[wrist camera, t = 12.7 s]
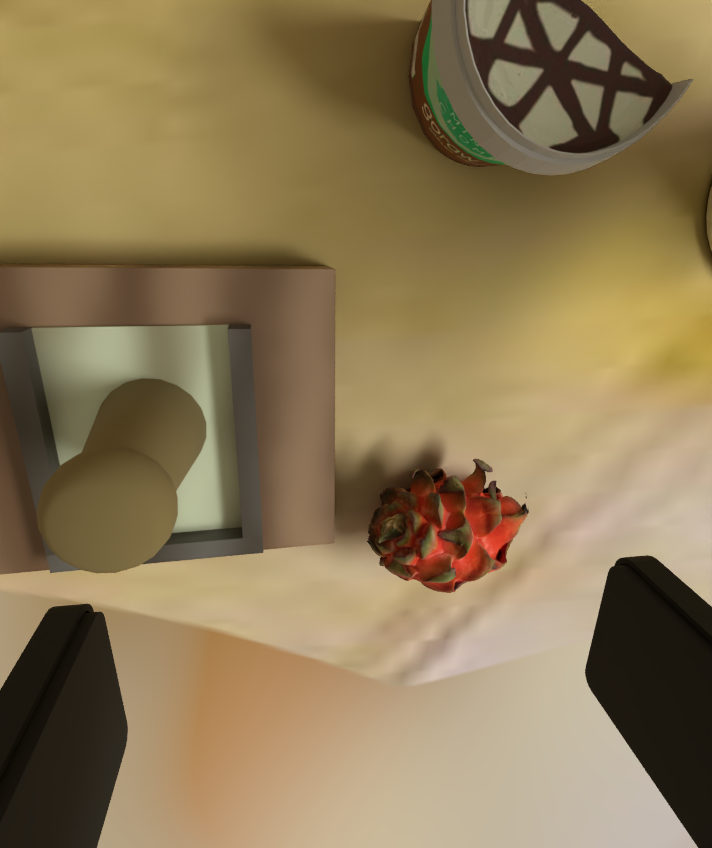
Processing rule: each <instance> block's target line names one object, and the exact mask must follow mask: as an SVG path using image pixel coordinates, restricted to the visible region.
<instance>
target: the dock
mask: <svg viewBox="0 0 712 848" xmlns="http://www.w3.org/2000/svg"><path fill="white" fill-rule="evenodd" d="M142 378H143V379H161V380H163V381H166V382H169V383H172V384H175V385H178V386H179V387H180V388H182V389H183V390H185V391H186V392H187V393H189V394H190V395H192V397H193V398H194V399H195V401H196V402H197V403H198V405H199V406H200V407H201V409H202V412H203V414H204V417H205V420H206V440H205V443H204V445H203V448H202V451H201V452H200V454H199V456H198V457H197V459H196V460H195V462H194V464H193V465H192V467H191V468H190V470H189V472H188V473H187V475H186V476H185V478H184V480H183V481H182V483H181V484H180V486H179V487H178V489H177V491H176V493H177V497H178V516H177V520H176V523H175V526H174V528H173V531H172V534H171V536H170V538H169V539H168V540H167V542H166V543H165V544H164V545H163V546H162V548H161V549H160V550H159V551H158V552H157V553H156V554H155V556H154V557H152V558H150V559H149V560H147V561H145V562H144V563H142V564H149V563H159V562H170V561H180V560H191V559H201V558H212V557H223V556H233V555H244V554H254V553H263V550H265V549H276V548H287V547H297V546H308V545H319V544H329V543H334V521H335V269H333V268H331V267H329V266H244V265H105V264H0V574H9V573H20V572H31V571H41V570H50V573H54V572H64V571H75V570H80V569H77V568H75V567H73V566H71V565H69V564H67V563H65V562H63V561H62V560H61V559H60V558H59V557H57V556H56V555H55V554H54V553H53V552H52V551H51V550H50V549H49V547H48V545H47V544H46V542H45V540H44V538H43V536H42V534H41V533H40V531H39V528H38V520H37V512H36V511H37V507H38V503H39V500H40V496H41V493H42V489H43V486H44V485H45V484H46V482H47V481H48V480H49V479H50V477H51V476H52V475H53V474H54V472H55V471H56V470H57V469H58V468H59V467H60V465H62V464H63V463H65V462H66V461H68V460H70V459H71V458H73V457H75V456H76V455H78V454H80V453H82V450H83V448H84V445H85V443H86V440H87V438H88V435H89V433H90V430H91V428H92V425H93V423H94V420H95V418H96V416H97V413H98V411H99V408H100V406H101V404H102V402H103V401H104V400H105V399H106V397H107V396H108V395H109V393H110V392H111V391H113V390H114V389H116V388H118V387H119V386H121V385H122V384H124V383H126V382H130V381H134V380H138V379H142Z"/></svg>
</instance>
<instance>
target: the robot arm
mask: <svg viewBox="0 0 712 848" xmlns="http://www.w3.org/2000/svg"><path fill="white" fill-rule="evenodd" d="M707 235H708V240H709V244H710V249H711V251H712V187H711V190H710V194H709V199H708V207H707ZM585 674H586V679H587V683H588V685H589V687H590V689H591V691H592V692H593V694H594V695H595V697H596V698H597V700H598V701H599V703H600V704H601V706H602V707H603V708H604V710H605V711H606V713H607V714H608V716H609V717H610V719H611V720H612V722H613V723H614V725H615V726H616V728H617V729H618V730H619V732H620V733H621V735H622V736H623V738H624V739H625V741H626V742H627V744H628V745H629V747H630V748H631V749H632V751H633V753H634V754H635V755H636V757H637V758H638V760H639V761H640V763H641V764H642V766H643V767H644V768H645V770H646V772H647V773H648V775H649V776H650V777H651V779H652V780H653V782H654V783H655V785H656V786H657V788H658V789H659V791H660V792H661V794H662V795H663V797H664V798H665V799H666V801H667V802H668V804H669V805H670V807H671V808H672V810H673V811H674V813H675V814H676V815H677V817H678V819H679V820H680V821H681V823H682V824H683V826H684V827H685V829H686V830H687V832H688V833H689V835H690V836H691V838H692V839H693V841H694V842H695V844H696V845H697V846H698V848H712V607H711V606H710V605H709V604H708V603H707V602H705V601H704V600H703V599H702V598H701V597H700V596H699V595H697V594H696V593H695V592H694V591H693V590H692V589H691V588H689V587H688V586H687V585H686V584H685V583H684V582H682V581H681V580H680V579H679V578H678V577H677V576H676V575H674V574H673V573H672V572H671V571H670V570H669V569H668V568H666V567H665V566H664V565H663V564H662V563H661V562H660V561H658V560H657V559H656V558H654V557H652V556H636V557H625V558H620V559H618V560H617V561H616V563H615V566H613V567H611V568H610V570H609V572H608V576H607V580H606V584H605V588H604V593H603V597H602V601H601V605H600V609H599V614H598V618H597V622H596V626H595V630H594V635H593V639H592V643H591V647H590V651H589V656H588V660H587V664H586V669H585ZM127 731H128V727H127V720H126V715H125V711H124V706H123V702H122V697H121V692H120V687H119V682H118V678H117V673H116V668H115V664H114V659H113V654H112V649H111V645H110V640H109V635H108V630H107V626H106V621H105V617H104V614H103V613H102V612H94V611H93V608H92V606H91V605H90V604H80V605H68V606H57V607H52V608H50V609H49V610H48V611H47V613H46V614H45V616H44V617H43V619H42V621H41V622H40V624H39V626H38V627H37V629H36V631H35V632H34V634H33V636H32V638H31V639H30V641H29V643H28V644H27V646H26V648H25V649H24V651H23V653H22V654H21V656H20V658H19V660H18V661H17V663H16V665H15V666H14V668H13V669H12V671H11V673H10V674H9V676H8V678H7V680H6V681H5V683H4V685H3V686H2V688H1V690H0V848H97V845H98V841H99V838H100V834H101V831H102V827H103V824H104V821H105V817H106V814H107V810H108V807H109V803H110V800H111V796H112V793H113V789H114V786H115V782H116V779H117V775H118V772H119V768H120V765H121V762H122V758H123V755H124V751H125V747H126V742H127Z"/></svg>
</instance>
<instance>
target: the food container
mask: <svg viewBox="0 0 712 848" xmlns="http://www.w3.org/2000/svg"><path fill="white" fill-rule="evenodd" d="M692 81H693V79H688V80H684V81H680V82H676V83H672V84H670V83H669V82H668V81H667V80H666V79H665V78H664V77H663V76H662V75H661V74H660V73H658V72H656V71H654V70H653V69H652V68H650V67H649V66H648V65H646V64H645V63H644V62H643V61H642V60H641V59H640V58H638V57H637V56H636V55H635V54H634V53H633V52H632V51H631V50H630V49H628V48H627V47H626V45H625V44H624V43H623V42H622V41H621V40H620V39H619V38H618V37H617V36H616V35H615V34H614V33H613V32H612V30H611V29H610V28H609V27H608V26H607V25H606V24H605V23H604V21H603V20H602V19H601V18H600V17H599V16H598V15H597V14H596V13H595V12H594V11H593V10H592V9H591V8H590V7H589V6H588V5H586V4H585V3H584V2H582V1H581V0H431V1H430V3H429V5H428V8H427V10H426V12H425V14H424V16H423V18H422V20H421V22H420V25H419V28H418V31H417V33H416V36H415V39H414V42H413V45H412V53H411V61H410V69H409V83H410V91H411V98H412V105H413V109H414V112H415V114H416V116H417V118H418V121H419V123H420V125H421V128H422V130H423V132H424V134H425V135H426V137H427V138H428V139H429V140H430V141H431V143H432V144H433V145H434V146H435V147H436V149H437V150H439V151H440V152H441V153H442V154H444V155H445V156H446V157H448V158H450V159H452V160H454V161H455V162H458V163H461V164H464V165H468V166H477V167H482V166H493V165H504V164H507V165H509V166H510V167H512V168H515V169H518V170H522V171H525V172H528V173H532V174H541V175H562V174H570V173H574V172H577V171H581V170H585V169H588V168H590V167H592V166H594V165H597V164H599V163H601V162H603V161H605V160H607V159H609V158H610V157H612V156H614V155H616V154H617V153H619V152H621V151H623V150H624V149H626V148H627V147H629V146H630V145H632V144H633V143H635V142H636V141H638V140H640V139H641V138H642V137H643V136H644V135H645V134H647V133H648V132H649V131H650V130H651V129H652V128H653V127H654V126H656V125H657V124H658V122H659V121H660V120H661V119H662V118H663V117H665V116H666V115H667V113H668V112H669V111H670V110H671V109H672V108H673V107H674V105H675V104H676V103H677V102H678V101H679V100H680V98H681V97H682V96H683V94H684V93H685V91H686V90H687V88H688V87H689V85H690V84H691V82H692Z"/></svg>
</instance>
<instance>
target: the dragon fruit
mask: <svg viewBox="0 0 712 848" xmlns="http://www.w3.org/2000/svg"><path fill="white" fill-rule="evenodd" d="M473 461H474V462H475V464H476V468H475V471H474V472H473V474H471V475H470V476H468V477H467V478H466V479H465V480H463V481H461V482H460V481H459V479H458V478H457V476H450V477H448V478H447V477H446V473H445V472H444V471H443V469H435V470H434V471H433V472H430V473H428V472H427V471H425V470H423V469H418V468H415V469H412V470H410V472H409V474H410V477H411V478H413V477H414V478H413V482H412V484H411V488H409V489H407V490H405V489H403V488H399V487H394V488H387V489H386V490H384V491H383V492H382V493H381V494H380V497H381V501H382V507H380V508H378V509H376V510H375V512H374V515H373V518H372V520H371V523H370V524H369V530H368V533H369V534H370V536H369V538H368V541H367V542H368V543H369V544H370V546H371V548H372V549H373V551H374V552H375V553H376V554H377V555H378V556H380V557H381V558H380V563H379V564H380V566H385V568H386V569H387V570H389V571H390V572H391V573H393V574H394V575H397V576H398V577H400V578H402V579H404V580H406V581H409V580H412V579H415V580H418V581H420V582H421V583H422V584H423V585H424V586H426V587H428V588H430V589H432V590H435V591H438V592H447V593H451V592H455V591H456V589H458V588H459V587H460V586H461V585H462V584H464V583H466V582H468V581H475V580H477V579H479V578H481V577H483V576H484V575H486V574H487V573H489V572H492V571H495V570H498V569H500V568H501V567H503V566H504V565H505V564H506V562H507V560H506V554H507V550H508V548H509V547H510V543H511V542H512V540H513V538H514V537H515V536H516V535H517V533H518V530H519V527H520V525H521V524H522V522H523V521H524V520H525V518H526V516H527V514H528V512H529V508H528V510H527V508H526V504H523V505H522V507H521V506H520V505H519V503H518V502H517V501H516V500H514V499H513V498H511V497H509V496H505V497H503V495H502V493H501V490H500V489H498V488H497V487H496V481H491V482H490V484H489V487H488V488H486V489H484V485H485V483H486V475H485V471H487V472H492V468H491V467H490V466H489V465H487V464H486V463H485V462H483V461H481V460H479V459H474V460H473ZM433 479H434V481H433ZM525 494H526V493H525ZM526 498H527V497H526ZM525 501H526V500H525Z"/></svg>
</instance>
